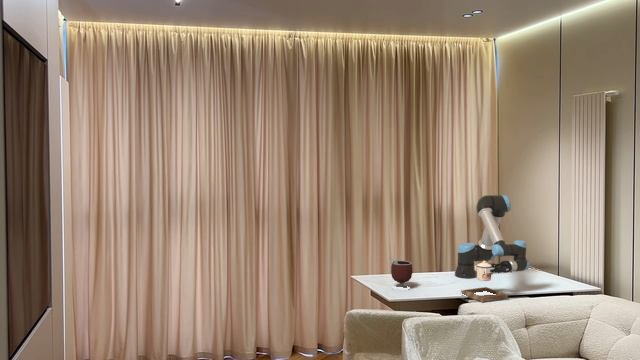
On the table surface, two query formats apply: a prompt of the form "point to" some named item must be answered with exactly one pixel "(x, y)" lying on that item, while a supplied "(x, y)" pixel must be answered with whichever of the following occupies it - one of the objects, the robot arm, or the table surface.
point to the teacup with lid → (483, 271)
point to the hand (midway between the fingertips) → (480, 269)
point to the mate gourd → (401, 271)
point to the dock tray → (485, 298)
